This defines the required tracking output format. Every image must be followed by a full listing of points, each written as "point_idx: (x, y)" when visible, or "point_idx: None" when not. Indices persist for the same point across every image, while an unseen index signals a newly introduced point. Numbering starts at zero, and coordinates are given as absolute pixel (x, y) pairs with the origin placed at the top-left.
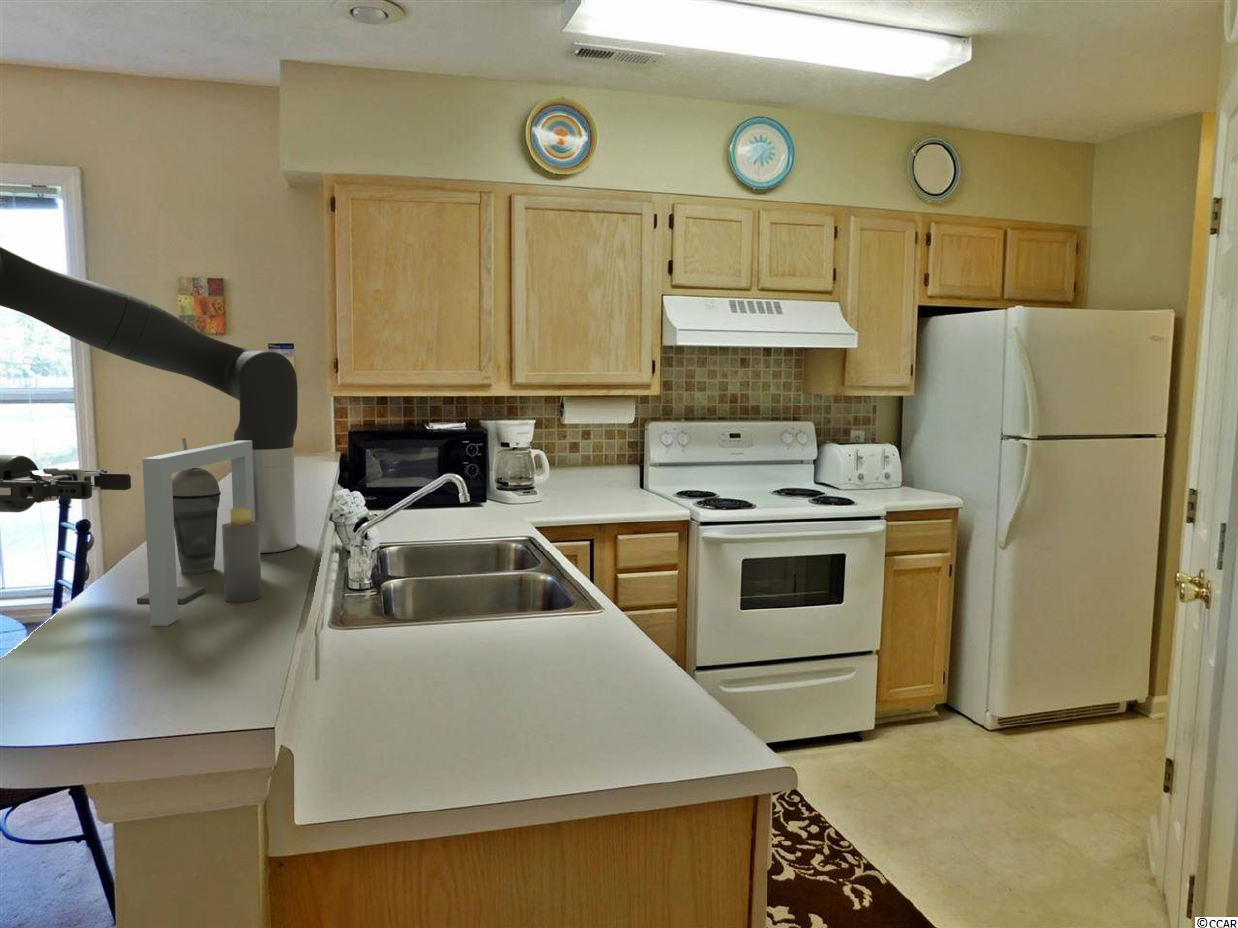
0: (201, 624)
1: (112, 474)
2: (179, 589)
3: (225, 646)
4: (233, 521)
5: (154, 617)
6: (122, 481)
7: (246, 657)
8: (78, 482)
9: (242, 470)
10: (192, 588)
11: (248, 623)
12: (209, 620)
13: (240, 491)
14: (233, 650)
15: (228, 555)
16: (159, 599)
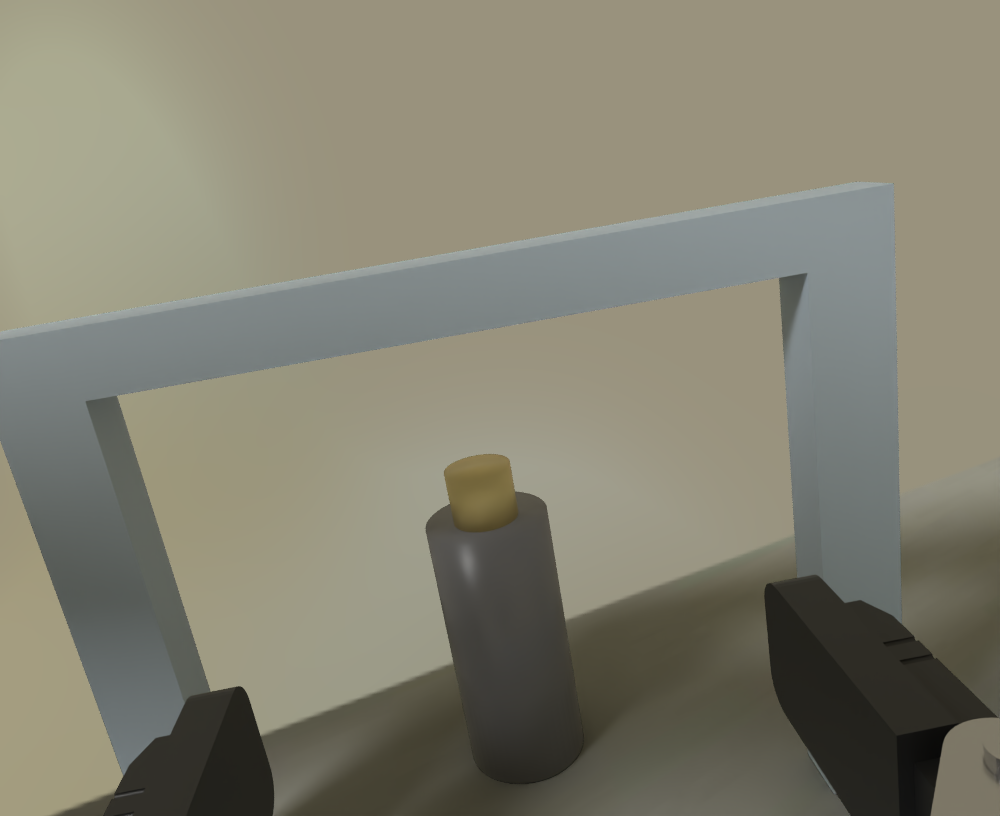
0: None
1: (201, 779)
2: None
3: (906, 573)
4: (513, 502)
5: None
6: (244, 766)
7: (929, 527)
8: (845, 611)
9: (128, 453)
10: None
11: (745, 618)
12: (768, 690)
13: (155, 551)
14: (914, 554)
15: (559, 607)
16: None
